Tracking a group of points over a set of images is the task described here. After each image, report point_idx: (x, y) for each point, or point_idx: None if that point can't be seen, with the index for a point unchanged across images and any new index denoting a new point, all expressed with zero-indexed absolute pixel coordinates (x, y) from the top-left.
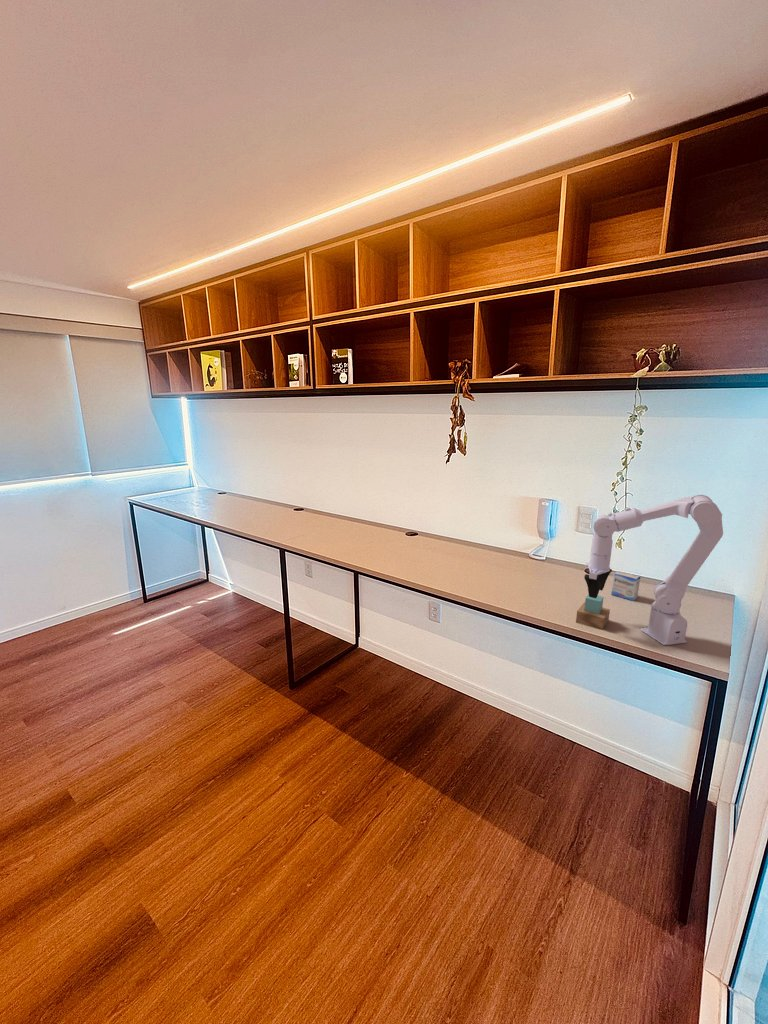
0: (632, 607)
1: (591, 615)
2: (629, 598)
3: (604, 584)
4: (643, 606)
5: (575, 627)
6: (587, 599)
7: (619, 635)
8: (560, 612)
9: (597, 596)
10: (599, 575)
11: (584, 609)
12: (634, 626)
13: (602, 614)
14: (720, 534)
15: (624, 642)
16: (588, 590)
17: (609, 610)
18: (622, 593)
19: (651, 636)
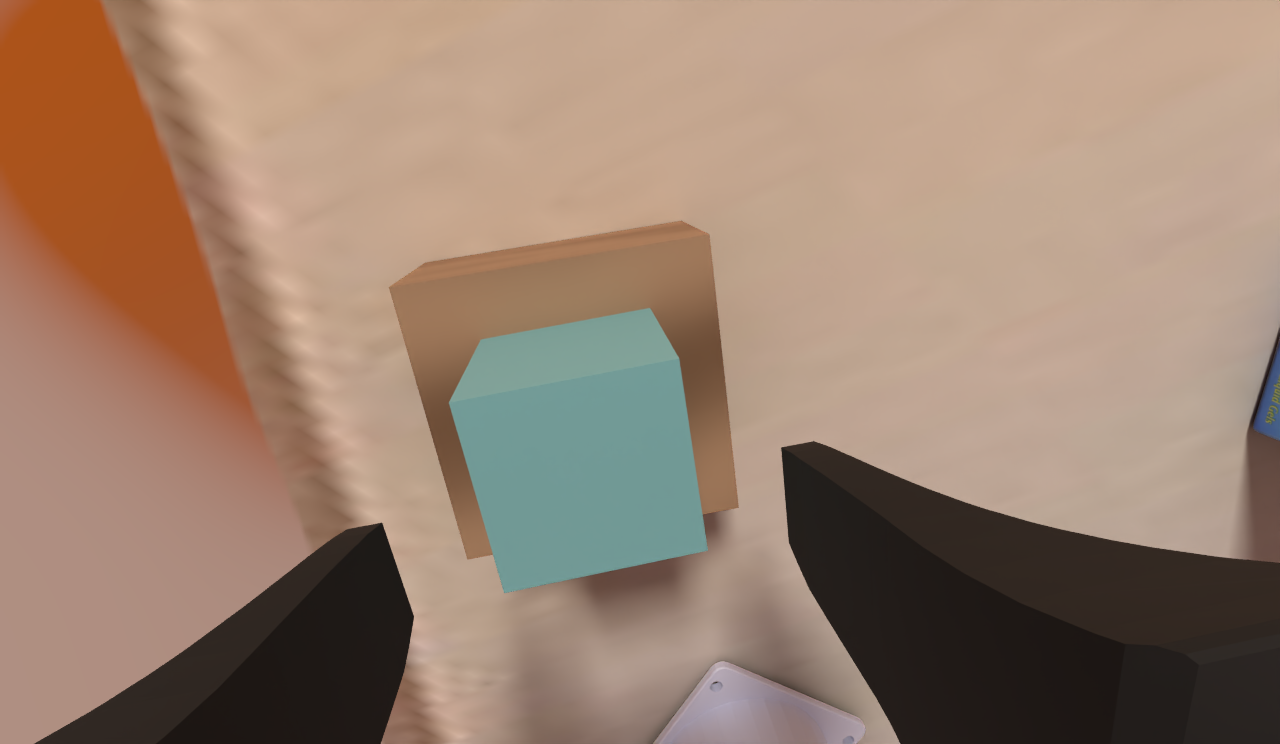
0: (1108, 470)
1: (436, 445)
2: (1274, 402)
3: (846, 649)
4: (1175, 516)
5: (317, 311)
6: (459, 424)
7: (508, 604)
8: (512, 17)
9: (654, 493)
10: (953, 704)
11: (478, 346)
12: (752, 609)
13: None
14: None
15: (427, 665)
16: (252, 605)
17: (718, 507)
18: None
19: (657, 741)
